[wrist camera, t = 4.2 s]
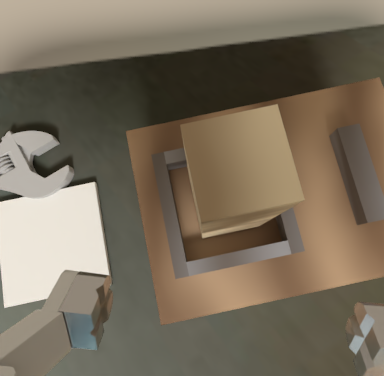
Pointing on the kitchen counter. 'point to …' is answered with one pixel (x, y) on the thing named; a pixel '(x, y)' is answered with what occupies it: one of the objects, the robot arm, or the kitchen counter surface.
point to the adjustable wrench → (29, 165)
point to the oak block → (240, 170)
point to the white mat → (50, 241)
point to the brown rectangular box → (278, 226)
